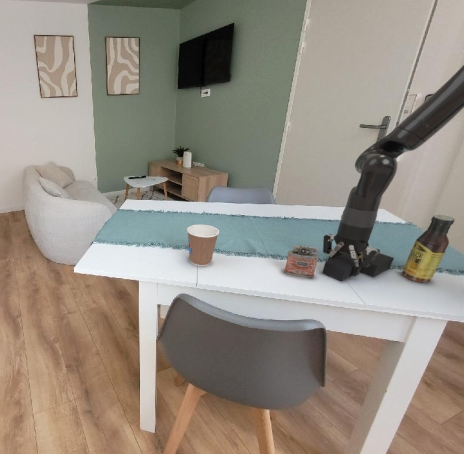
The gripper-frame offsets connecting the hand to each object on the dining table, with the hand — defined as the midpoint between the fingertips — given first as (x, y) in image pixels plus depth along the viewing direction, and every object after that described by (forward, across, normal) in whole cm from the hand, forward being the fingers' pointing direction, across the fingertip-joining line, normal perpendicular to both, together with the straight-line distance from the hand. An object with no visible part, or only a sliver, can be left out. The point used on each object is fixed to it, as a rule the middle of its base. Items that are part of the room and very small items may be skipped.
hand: (341, 271), depth 91 cm
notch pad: (+1, 0, -10) cm, 10 cm away
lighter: (+1, +6, +12) cm, 13 cm away
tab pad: (+1, 0, -1) cm, 1 cm away
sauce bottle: (+1, -12, -15) cm, 19 cm away
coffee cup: (+1, +28, +32) cm, 42 cm away
